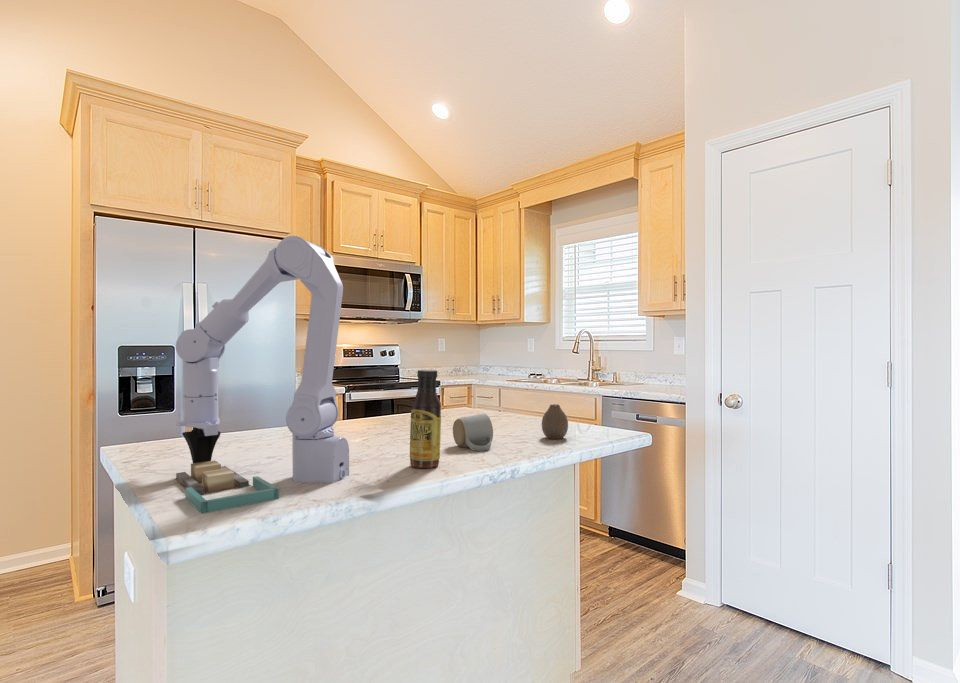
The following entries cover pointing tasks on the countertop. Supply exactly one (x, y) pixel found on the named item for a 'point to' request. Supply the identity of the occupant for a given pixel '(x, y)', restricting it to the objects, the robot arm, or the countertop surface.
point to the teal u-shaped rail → (234, 497)
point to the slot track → (197, 486)
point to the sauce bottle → (425, 423)
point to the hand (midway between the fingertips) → (201, 469)
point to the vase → (554, 422)
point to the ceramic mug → (473, 432)
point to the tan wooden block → (218, 479)
